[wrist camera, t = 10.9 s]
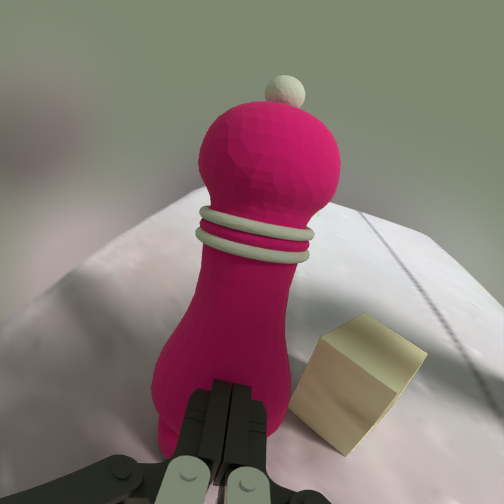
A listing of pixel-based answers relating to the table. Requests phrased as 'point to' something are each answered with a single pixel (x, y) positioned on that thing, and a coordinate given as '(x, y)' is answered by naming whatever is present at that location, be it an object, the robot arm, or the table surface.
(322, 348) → the pale yellow cube-like block
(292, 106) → the pepper mill
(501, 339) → the table surface
